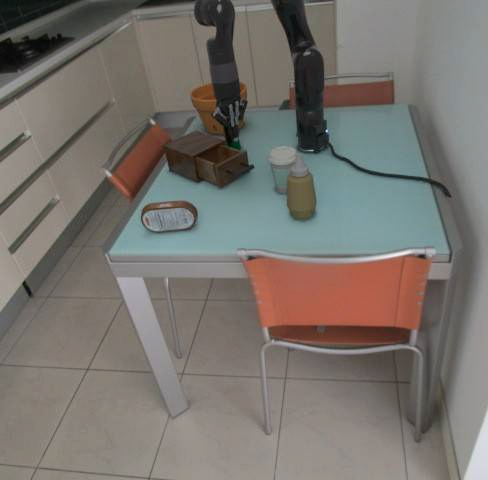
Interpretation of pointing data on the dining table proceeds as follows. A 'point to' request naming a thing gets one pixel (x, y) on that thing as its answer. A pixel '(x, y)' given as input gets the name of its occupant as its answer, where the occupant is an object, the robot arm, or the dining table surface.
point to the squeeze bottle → (300, 190)
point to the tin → (169, 216)
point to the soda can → (231, 140)
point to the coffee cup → (281, 165)
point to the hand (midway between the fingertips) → (234, 137)
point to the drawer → (223, 165)
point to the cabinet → (189, 153)
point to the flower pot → (211, 106)
